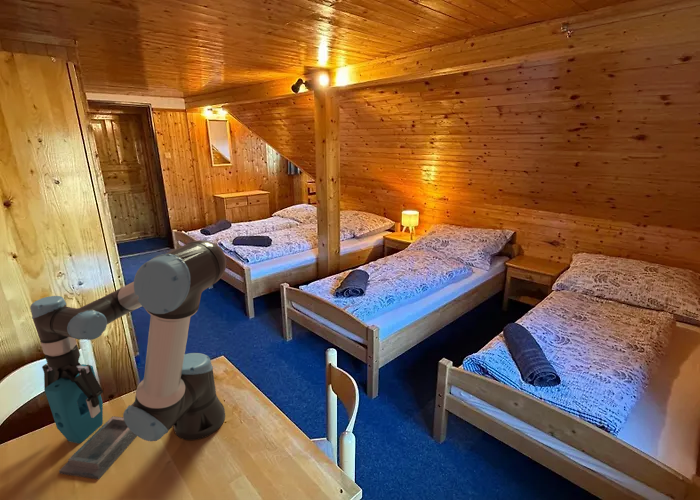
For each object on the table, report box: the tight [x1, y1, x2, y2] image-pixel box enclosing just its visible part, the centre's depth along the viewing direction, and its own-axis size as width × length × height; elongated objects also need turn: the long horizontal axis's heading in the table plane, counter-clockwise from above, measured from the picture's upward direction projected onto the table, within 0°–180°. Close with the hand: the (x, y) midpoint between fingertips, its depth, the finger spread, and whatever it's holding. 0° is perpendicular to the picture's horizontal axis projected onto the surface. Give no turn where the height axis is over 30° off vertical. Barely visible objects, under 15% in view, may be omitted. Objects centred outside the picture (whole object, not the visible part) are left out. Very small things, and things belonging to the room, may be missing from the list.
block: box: [44, 363, 104, 444], centre depth 111 cm, size 12×5×20 cm, turn 167°
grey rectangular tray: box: [58, 416, 138, 480], centre depth 109 cm, size 12×20×3 cm, turn 171°
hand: (80, 412), depth 112 cm, fingers open, 10 cm apart
